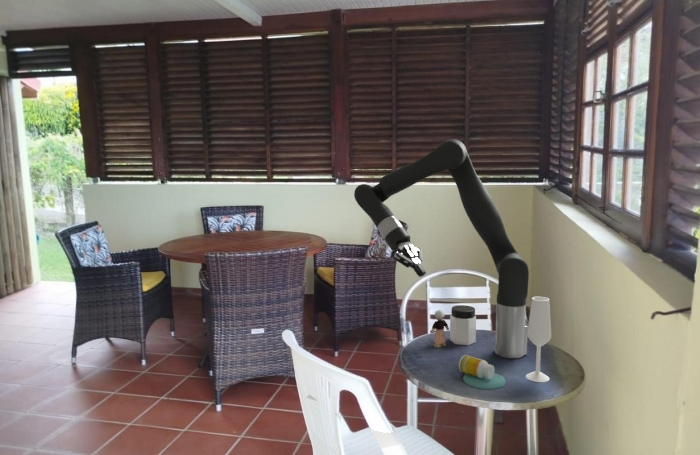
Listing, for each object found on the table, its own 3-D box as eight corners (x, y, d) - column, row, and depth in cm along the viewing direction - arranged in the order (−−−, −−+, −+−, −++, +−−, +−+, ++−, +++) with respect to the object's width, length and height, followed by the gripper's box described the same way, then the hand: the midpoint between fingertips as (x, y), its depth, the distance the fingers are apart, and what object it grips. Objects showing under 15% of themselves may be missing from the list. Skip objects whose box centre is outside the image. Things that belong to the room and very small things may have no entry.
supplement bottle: (469, 354, 167) (497, 362, 160) (466, 371, 166) (494, 380, 160) (459, 354, 163) (488, 363, 156) (456, 372, 163) (485, 381, 156)
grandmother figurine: (441, 341, 192) (442, 306, 190) (450, 344, 189) (450, 309, 188) (427, 347, 187) (427, 311, 185) (436, 350, 184) (436, 313, 183)
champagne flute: (529, 371, 166) (532, 294, 163) (552, 376, 162) (555, 297, 159) (522, 378, 161) (525, 299, 157) (545, 384, 157) (549, 303, 153)
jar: (460, 335, 199) (461, 303, 197) (479, 340, 193) (480, 308, 191) (445, 341, 192) (446, 308, 191) (464, 347, 187) (465, 313, 185)
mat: (489, 369, 167) (489, 368, 167) (514, 385, 156) (514, 384, 156) (455, 375, 163) (455, 374, 163) (478, 391, 152) (478, 390, 152)
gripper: (386, 227, 172) (416, 271, 165) (412, 223, 182) (442, 264, 175) (374, 242, 177) (403, 285, 170) (400, 237, 186) (428, 278, 179)
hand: (423, 275), depth 172 cm, fingers closed
